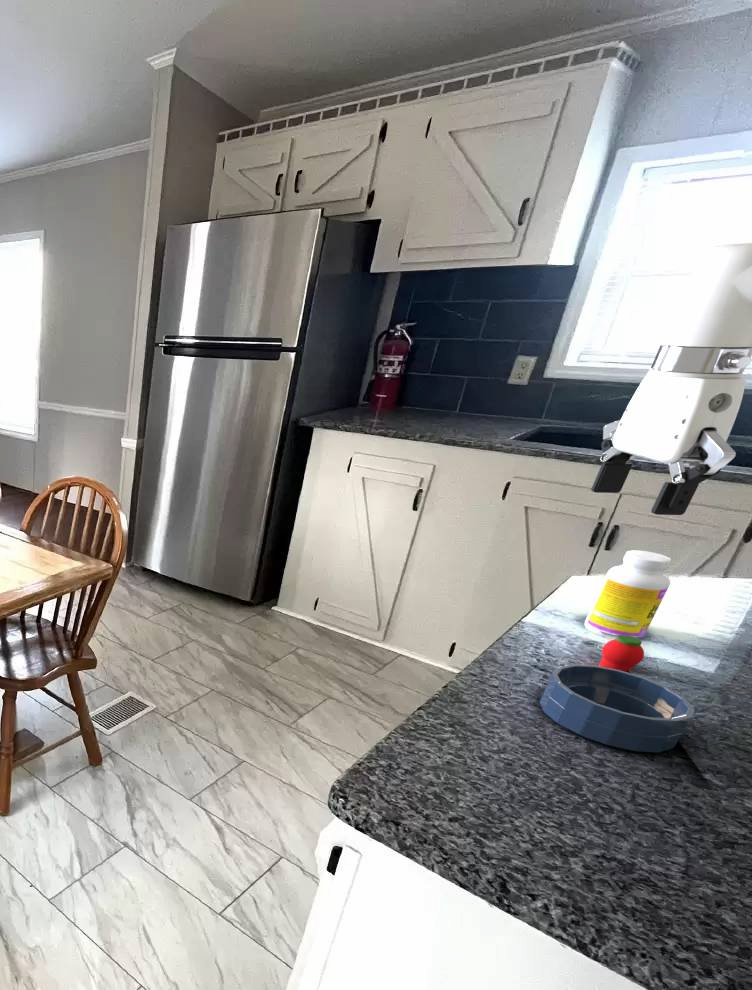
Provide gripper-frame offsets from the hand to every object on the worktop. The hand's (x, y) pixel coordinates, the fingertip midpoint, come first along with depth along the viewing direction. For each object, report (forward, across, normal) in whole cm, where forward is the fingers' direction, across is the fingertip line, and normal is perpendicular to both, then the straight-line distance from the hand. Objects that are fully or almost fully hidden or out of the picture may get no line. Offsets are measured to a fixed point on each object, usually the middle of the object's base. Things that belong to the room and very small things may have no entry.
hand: (634, 502), depth 82 cm
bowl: (+23, -17, +7) cm, 30 cm away
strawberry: (+23, -3, -4) cm, 24 cm away
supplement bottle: (+23, +9, -12) cm, 28 cm away
